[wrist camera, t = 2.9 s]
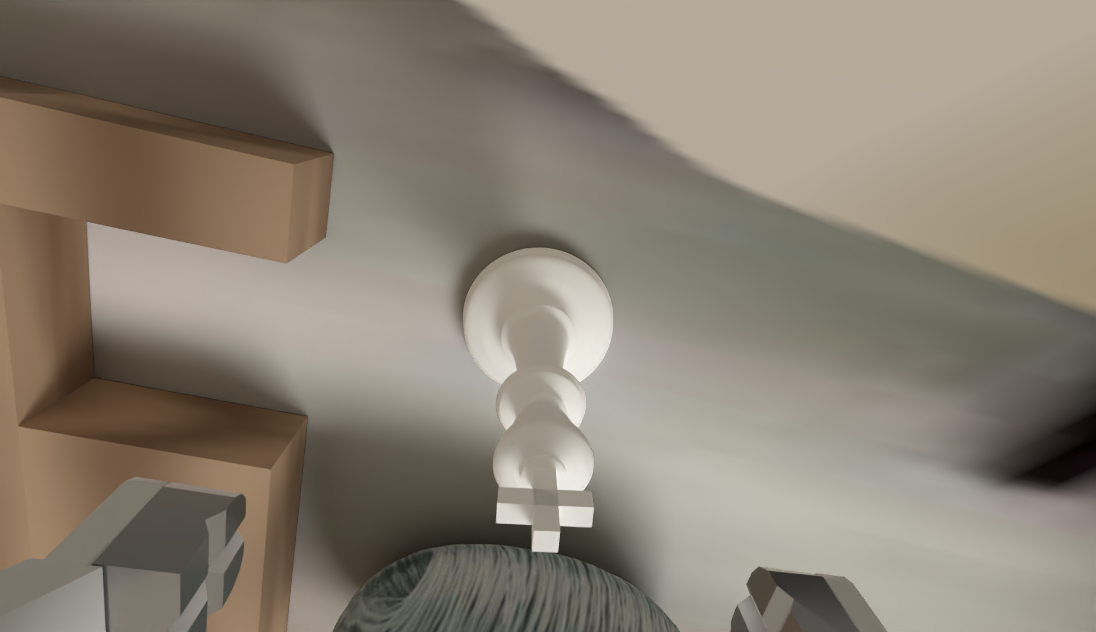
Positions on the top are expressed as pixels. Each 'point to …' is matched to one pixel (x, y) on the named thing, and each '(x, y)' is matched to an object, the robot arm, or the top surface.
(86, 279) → the notch board
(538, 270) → the chess piece
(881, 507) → the top surface
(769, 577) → the robot arm
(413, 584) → the yarn ball
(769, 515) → the top surface
